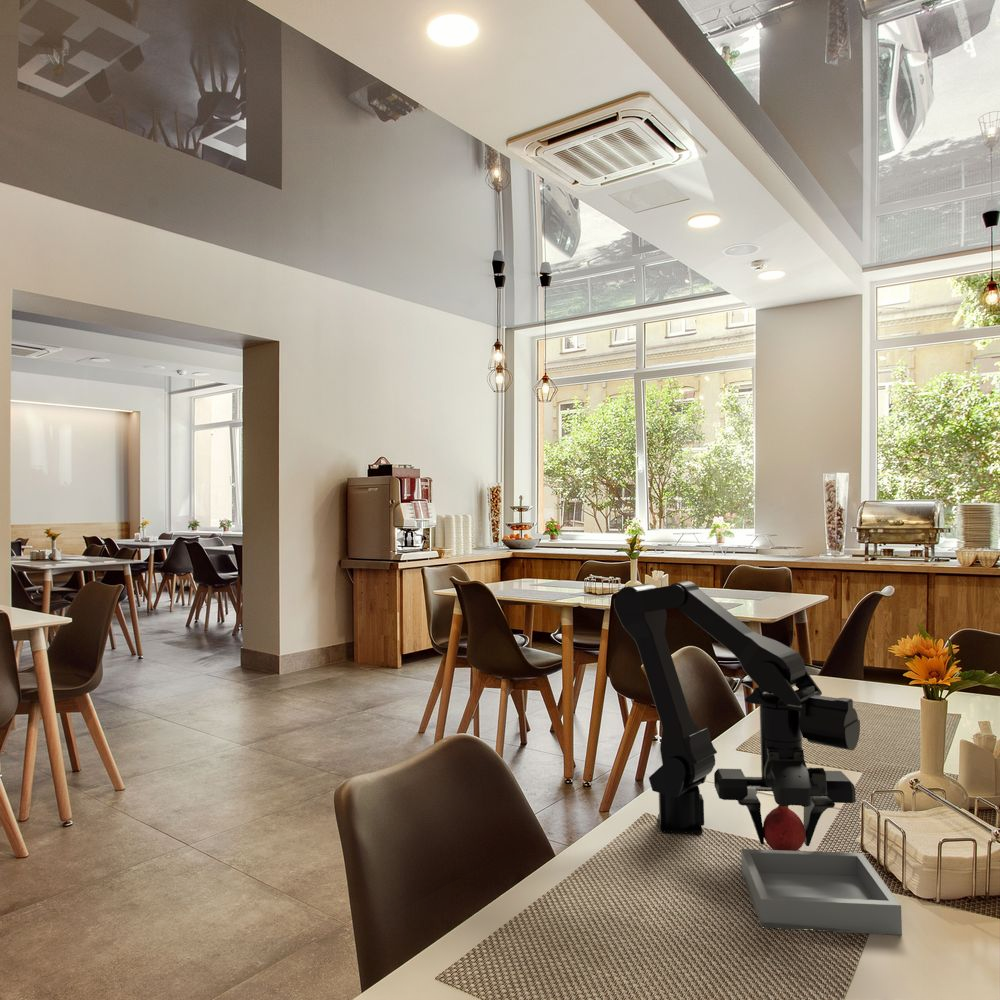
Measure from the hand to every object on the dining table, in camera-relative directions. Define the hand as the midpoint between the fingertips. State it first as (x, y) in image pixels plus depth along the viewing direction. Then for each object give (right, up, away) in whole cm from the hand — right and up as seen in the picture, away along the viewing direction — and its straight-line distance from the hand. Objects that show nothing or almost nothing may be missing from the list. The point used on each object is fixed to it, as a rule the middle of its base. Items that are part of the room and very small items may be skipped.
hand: (784, 844), depth 113 cm
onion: (0, -2, 0) cm, 2 cm away
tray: (-1, -2, -13) cm, 13 cm away
